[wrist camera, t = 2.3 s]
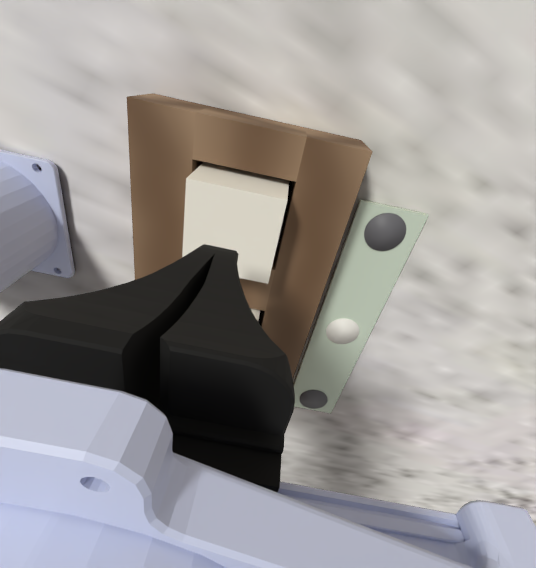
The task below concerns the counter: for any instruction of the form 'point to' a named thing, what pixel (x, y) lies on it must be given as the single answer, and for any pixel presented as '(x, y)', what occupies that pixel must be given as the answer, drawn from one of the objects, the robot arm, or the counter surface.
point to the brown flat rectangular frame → (258, 159)
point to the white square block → (235, 215)
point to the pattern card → (355, 299)
